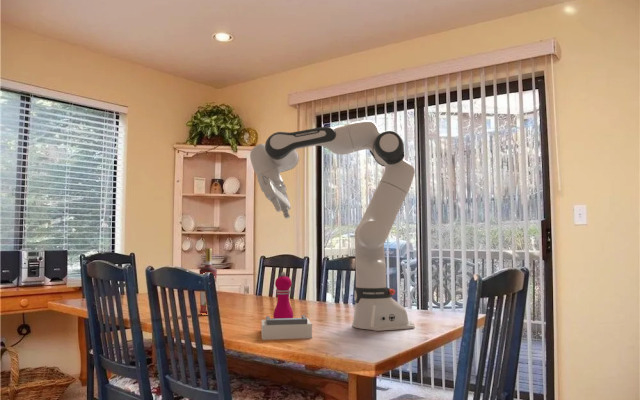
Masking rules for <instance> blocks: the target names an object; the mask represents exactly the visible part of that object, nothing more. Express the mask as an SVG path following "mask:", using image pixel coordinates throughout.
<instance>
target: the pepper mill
mask: <svg viewBox="0 0 640 400" xmlns="http://www.w3.org/2000/svg"><path fill="white" fill-rule="evenodd" d="M286 275H287V273H286V272H285V271H282V272H281V273H280V276H278V277H277V278H276V280H275V281H274V284H275V288H277V290H276V294H277V303H276V306H275V308H274V310H273V315H272V316H273V319H278V318H294V310H293V308H292V306H291V302H290V294H291V287H292V280H291V277H289V276H286Z"/></svg>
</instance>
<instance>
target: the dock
mask: <svg viewBox="0 0 640 400" xmlns="http://www.w3.org/2000/svg"><path fill="white" fill-rule="evenodd" d="M260 326H261V327H260V329H261V332H260V333H261V340H262V341H264V340H265V341H268V340H289V339H290V340H294V339H299V340H300V339H313V323H312V322H311V321H310V319H309V318H307V317H306V315H305V314H301V317H293V318H278V319H274V318H270V316H269V315H267V316H265V319H261V324H260Z"/></svg>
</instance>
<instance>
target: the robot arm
mask: <svg viewBox="0 0 640 400" xmlns="http://www.w3.org/2000/svg"><path fill="white" fill-rule="evenodd" d="M315 146H318V147H319V146H320V147H323V148H325V149H327V150H329V151H330V152H331V153H333V154H335V155H349V154H352V153H356V152H359V151H362V150H368V151H369V153H370V154H371V156H372V157H373V159H374V161H375V162H376V163H377V164H378V165H380V166H381V167H384V172H383V175H382V176H381V179H380V181H379V183H378V185H377V187H376V189H375V191H374V193H373V195H372V197H371V199H370V201H369V204H368V205H367V208H366V209H365V212H364V214H363V216H362V218H361V221H360V222H359V224H358V225H357V226H356V228H355V231H354V250H355V251H354V253H355V258H354V259H355V287H354V302H355V304H354V305H355V306H354V307H355V309H354V314H353V320H352V324H351V327H353V328H356V329H362V330H371V331H375V332H376V331H377V332H381V331H393V330H395V331H396V330H406V329H407V330H408V329H414V328H415V323H414V322H412V321H410V320H409V317H408V316H409V315H408V313H407V310H406V309H405V307H404V306H402V305H401V304H400V303H399V302H397V300H396V299H393V297H392V296H394V295H395V293H396V290H395V288H390V287H388V286H387V264H386V256H385V255H386V254H385V252H386V251H385V243H386V242H387V239H388V236H389V234H390V233H391V230H392V228H393V225H394V224H395V220H396V218H397V216H398V214H399V211H400V209H401V207H402V206H403V203H404V201H405V199H406V197H407V194H408V193H409V191H410V189H411V186H412V182H413V181H414V176H415V173H416V171H415V167H414V166H413V165H412V164H411V162H409V161H407V160H405V159H404V158H405V146H404V141H403V139H402V136H401V135H400V134H399V133H398V132H396V131H393V130H384V131H382V132H380V130H379V127H378V125H377V124H376V122H374V121H372V120H359V121H353V122H349V123H345V124H342V125H341V124H340V125H336V126H321V127H315V128H310V129H304V130H299V131H291V132H290V131H289V132H286V131H277V132H274V133H272V134H271V135H269V137H268V138H267V139H266V141H265V143H259V144H257V145H255V146H254V147H253V148H252V149H251V151H250V153H249V159H250V162H251V165H252V169H253V171H254V173H255V174H256V176H257V177H256V178H257V182H258V184H259V187H260V190H261V192H262V193H263V194H264V196H265V198H266V199H267V200H269V201H270V202H271V203H272V205H273V206H274V209H275V211H276V212H278V213H280V212H282V213H283V217H284V218H285V219H286V220H287V219H289V218H291V216H290V213H289V212H290V211H289V210H291V207H292V206H291V203H290V199H289V196H288V193H287V187H286V184H285V183H284V180H283V177H282V176H281V173H284V172H287V171H290V170H293V169H295V168H296V166H297V165H298V164H299V161H300V157H299V154H298V151H297V150H298V149H300V150H301V149H304V148H305V149H306V148H309V147H310V148H311V147H315Z"/></svg>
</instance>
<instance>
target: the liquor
mask: <svg viewBox="0 0 640 400" xmlns="http://www.w3.org/2000/svg"><path fill="white" fill-rule="evenodd" d="M212 249H213V248H205V252H204V254H205V262H204V267H202V268H200V269H199V275H200V274H203V273H205V272H212V273H213V274H214V276H215V282H216V283H217V276H218V275H217V272H218V269H217V268H215V267H214V266H213V264H212V261H213V260H212V252H213V251H212ZM199 297H200V298H199V300H200V307H199V308H200V309H199V312H198V313H200V314H201V313H206V314H207V311H206V301H205V293H204V292H200V291H199Z"/></svg>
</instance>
